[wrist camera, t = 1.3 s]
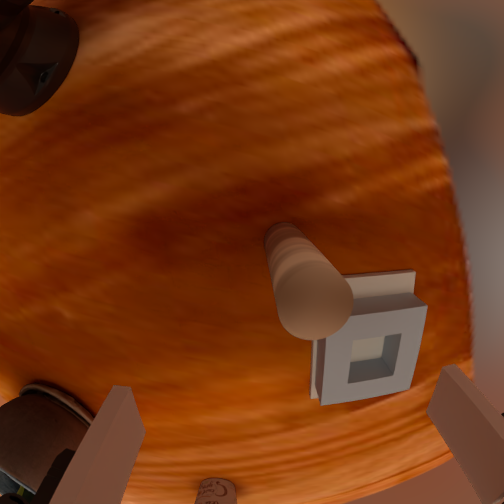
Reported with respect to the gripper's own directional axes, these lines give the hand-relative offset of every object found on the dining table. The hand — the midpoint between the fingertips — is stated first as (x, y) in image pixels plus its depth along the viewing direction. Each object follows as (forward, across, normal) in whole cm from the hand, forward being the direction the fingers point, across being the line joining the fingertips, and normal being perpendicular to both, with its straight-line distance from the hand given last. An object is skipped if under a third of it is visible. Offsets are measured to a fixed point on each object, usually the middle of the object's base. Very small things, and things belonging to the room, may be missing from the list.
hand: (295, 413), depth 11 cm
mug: (+21, -9, -43) cm, 49 cm away
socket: (+21, +11, -9) cm, 26 cm away
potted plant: (+21, -34, -28) cm, 49 cm away
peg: (+21, +2, +2) cm, 21 cm away
